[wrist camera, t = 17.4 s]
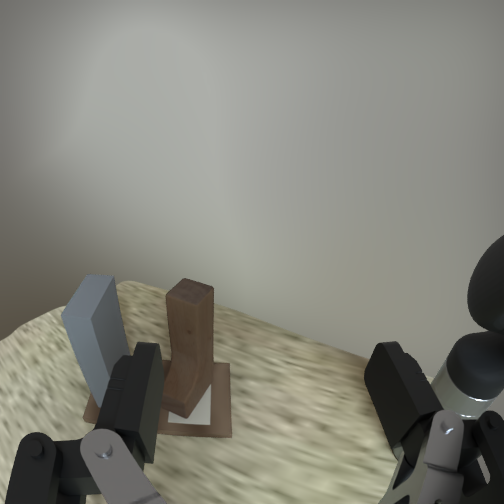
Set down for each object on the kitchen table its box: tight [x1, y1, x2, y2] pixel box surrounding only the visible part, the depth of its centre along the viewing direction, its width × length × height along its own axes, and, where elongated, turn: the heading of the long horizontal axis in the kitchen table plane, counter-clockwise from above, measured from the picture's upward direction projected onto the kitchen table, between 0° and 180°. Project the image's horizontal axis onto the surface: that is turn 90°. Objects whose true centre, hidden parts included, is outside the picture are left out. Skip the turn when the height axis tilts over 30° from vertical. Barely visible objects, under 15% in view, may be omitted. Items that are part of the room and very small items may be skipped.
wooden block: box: [161, 278, 214, 419], centre depth 38 cm, size 9×4×18 cm, turn 159°
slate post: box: [61, 274, 130, 408], centre depth 37 cm, size 4×9×18 cm, turn 4°
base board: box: [83, 360, 232, 438], centre depth 42 cm, size 22×14×1 cm, turn 94°
